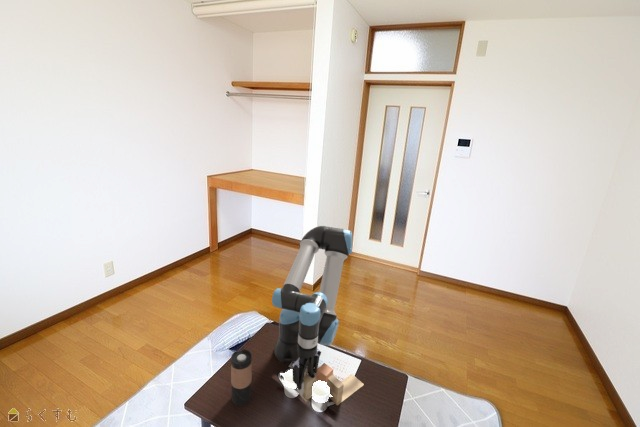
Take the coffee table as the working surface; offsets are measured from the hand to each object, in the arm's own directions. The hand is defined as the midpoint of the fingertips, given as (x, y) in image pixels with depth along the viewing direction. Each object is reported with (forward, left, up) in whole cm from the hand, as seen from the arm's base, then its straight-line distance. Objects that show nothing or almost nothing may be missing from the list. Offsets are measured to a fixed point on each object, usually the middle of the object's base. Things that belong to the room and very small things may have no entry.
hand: (304, 391), depth 121 cm
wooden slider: (0, +7, -2) cm, 7 cm away
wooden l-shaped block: (+9, +15, -2) cm, 17 cm away
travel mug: (-14, -20, -2) cm, 25 cm away
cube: (0, +11, -1) cm, 11 cm away
